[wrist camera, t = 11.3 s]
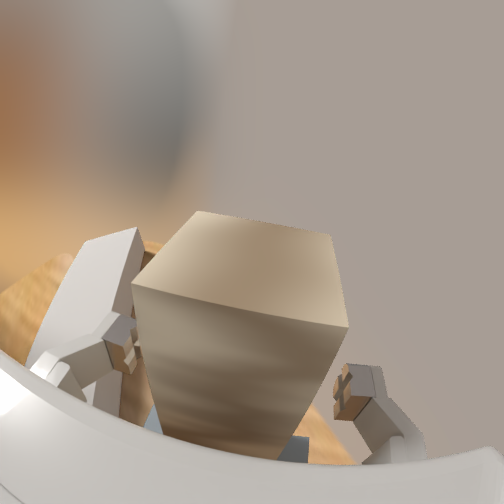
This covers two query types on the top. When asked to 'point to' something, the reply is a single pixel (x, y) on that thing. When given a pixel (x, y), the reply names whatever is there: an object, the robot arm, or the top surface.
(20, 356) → the top surface
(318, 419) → the top surface
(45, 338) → the decorative molding
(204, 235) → the ash post
